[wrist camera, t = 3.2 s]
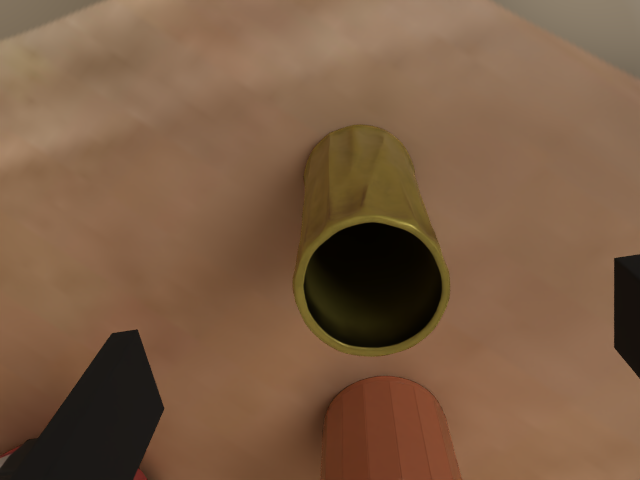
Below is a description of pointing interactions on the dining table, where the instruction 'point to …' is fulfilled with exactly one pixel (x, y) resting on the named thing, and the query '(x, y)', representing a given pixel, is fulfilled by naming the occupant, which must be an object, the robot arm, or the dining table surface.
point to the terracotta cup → (387, 434)
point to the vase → (367, 247)
